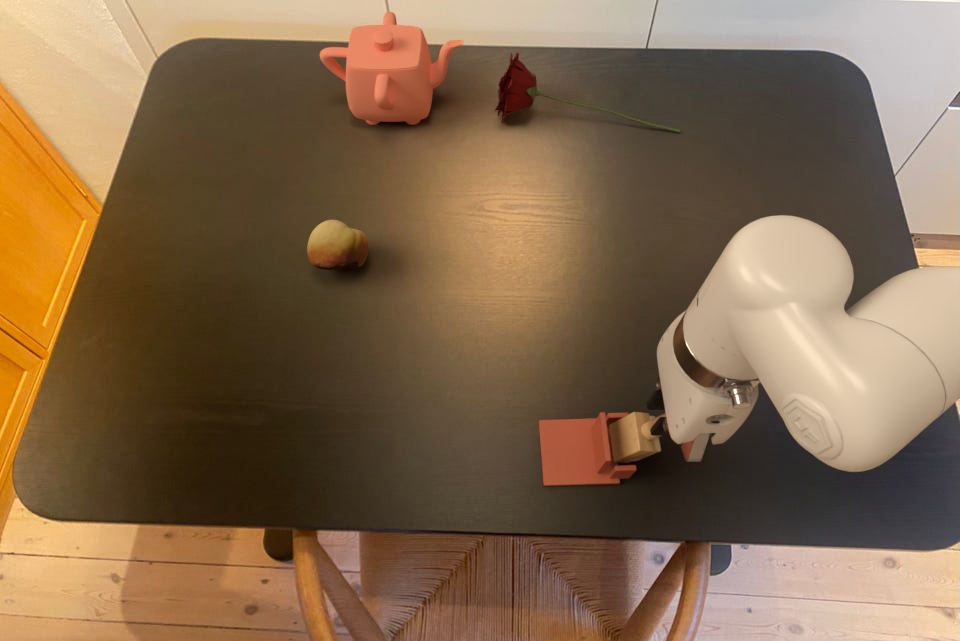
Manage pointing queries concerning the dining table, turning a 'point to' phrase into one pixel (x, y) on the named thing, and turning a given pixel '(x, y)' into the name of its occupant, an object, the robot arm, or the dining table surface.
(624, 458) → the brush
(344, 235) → the fruit
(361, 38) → the teapot
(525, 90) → the flower
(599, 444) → the brush stand
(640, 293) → the dining table surface
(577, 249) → the dining table surface
